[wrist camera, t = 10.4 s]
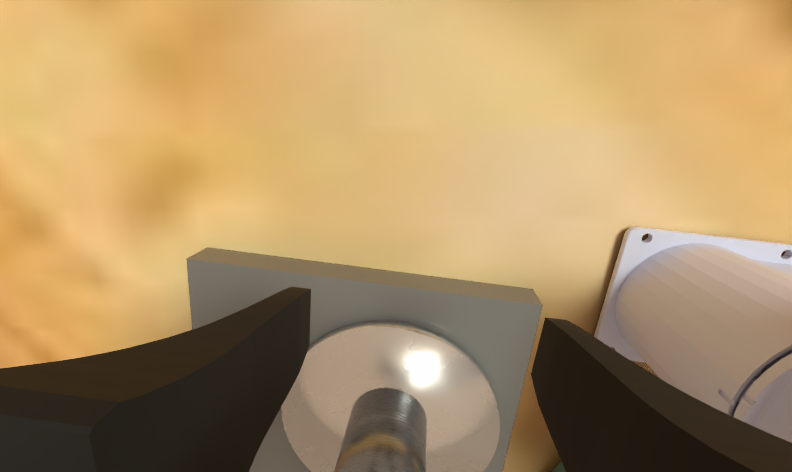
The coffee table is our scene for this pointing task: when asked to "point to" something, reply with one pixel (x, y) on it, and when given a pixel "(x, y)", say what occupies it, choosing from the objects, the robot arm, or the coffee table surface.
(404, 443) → the cylinder
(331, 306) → the scale base
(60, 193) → the coffee table surface
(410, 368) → the scale pan
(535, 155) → the coffee table surface
